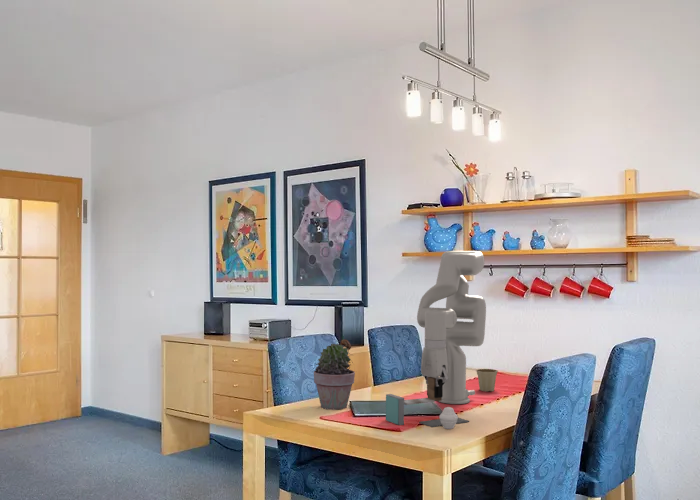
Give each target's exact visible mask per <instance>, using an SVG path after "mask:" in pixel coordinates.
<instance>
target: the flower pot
mask: <svg viewBox="0 0 700 500" xmlns="http://www.w3.org/2000/svg"><path fill="white" fill-rule="evenodd" d="M475 372H476V374H477V379H478V386H479V387H478V388H479V391H482V392H494V391H495V389H496V380H497V375H498V373H499V370H498V369H493V368H478V369H476V370H475Z"/></svg>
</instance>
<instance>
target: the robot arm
mask: <svg viewBox="0 0 700 500" xmlns="http://www.w3.org/2000/svg"><path fill="white" fill-rule="evenodd" d="M484 267H485V257H484V254H483V253H482V252H481V251H480V250H479V251H477V250H450V251H449V250H448V251H445V252H444V253H442V254H441V258H440V262H439V268H438V273H437V276H436V277H437V278H436V282H435V284H434V285H433V286H431V287H430V288H429V289H428V290H427V291H426V292H425V293H424V294H423V295H422V297H421V298H420V301H419V304H418V309H417V315H416V320H417V321H416V322H417V324H418V326H419V327H422V328H424V347H423V349H422V354H421V365H420V372H421V375H422V376H423V378H424V379H425V384H426V396H427V397H428V377H432V378H435V383H436V386H435V393H434V397H435V398H441V397H442V401H438V402H439V403H442V404H448V405H464V404H468V403H470V402H471V401H470V400H471V399H470V398H469V396H474V395H476V390H475V389H471V390H469V389H466V387H467V386H466V385H467V382H466V381H467V357H466V354H465V352H464V350H463V349H462V347H481V346H482V345H483V343H484V342H485V341H484V340H485V334H486V333H485V332H486V317H487V305H486V300H485V299H484V298H483V297H482V296H480V295H470V294H469V288H470V285H469V282H468V280H467V279H466V278H465V276H477V275H478V274H479V273H481V272H482V271H483V270H484ZM443 299H445V300H446V301H445V307H432V306H431V305H433V304H434V303H436V302H438V301H440V300H443ZM461 320H462V321H461ZM463 320H472V321H463ZM439 379H440V380H439Z"/></svg>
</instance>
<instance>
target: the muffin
mask: <svg viewBox="0 0 700 500" xmlns="http://www.w3.org/2000/svg"><path fill="white" fill-rule="evenodd" d="M438 417H439V418H438V419H440V421H441V423H442V425H443V426H442V427H443V429H445V430H452V429H454V427H455V426H456V425H457V424H456V422H457V419H458V418H459V417H458V415H457V413H456V412H455V410H454V408H453V407H450V406H447V407H446V406H445V407H444V408H443V409H442V412H441V413H440V414H439V416H438Z"/></svg>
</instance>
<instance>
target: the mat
mask: <svg viewBox="0 0 700 500" xmlns="http://www.w3.org/2000/svg"><path fill="white" fill-rule="evenodd" d="M469 422H470V420H467V419H465V418H461V417H458V419H457V422H456V424H455V425H458V424H463V423H464V424H465V423H469ZM418 423H419V424H421V425H424V426H427V427H431V428H435V427H443V425H442V423H441V421H440V418H438V419H430V420H423V421H419V422H418Z"/></svg>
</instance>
